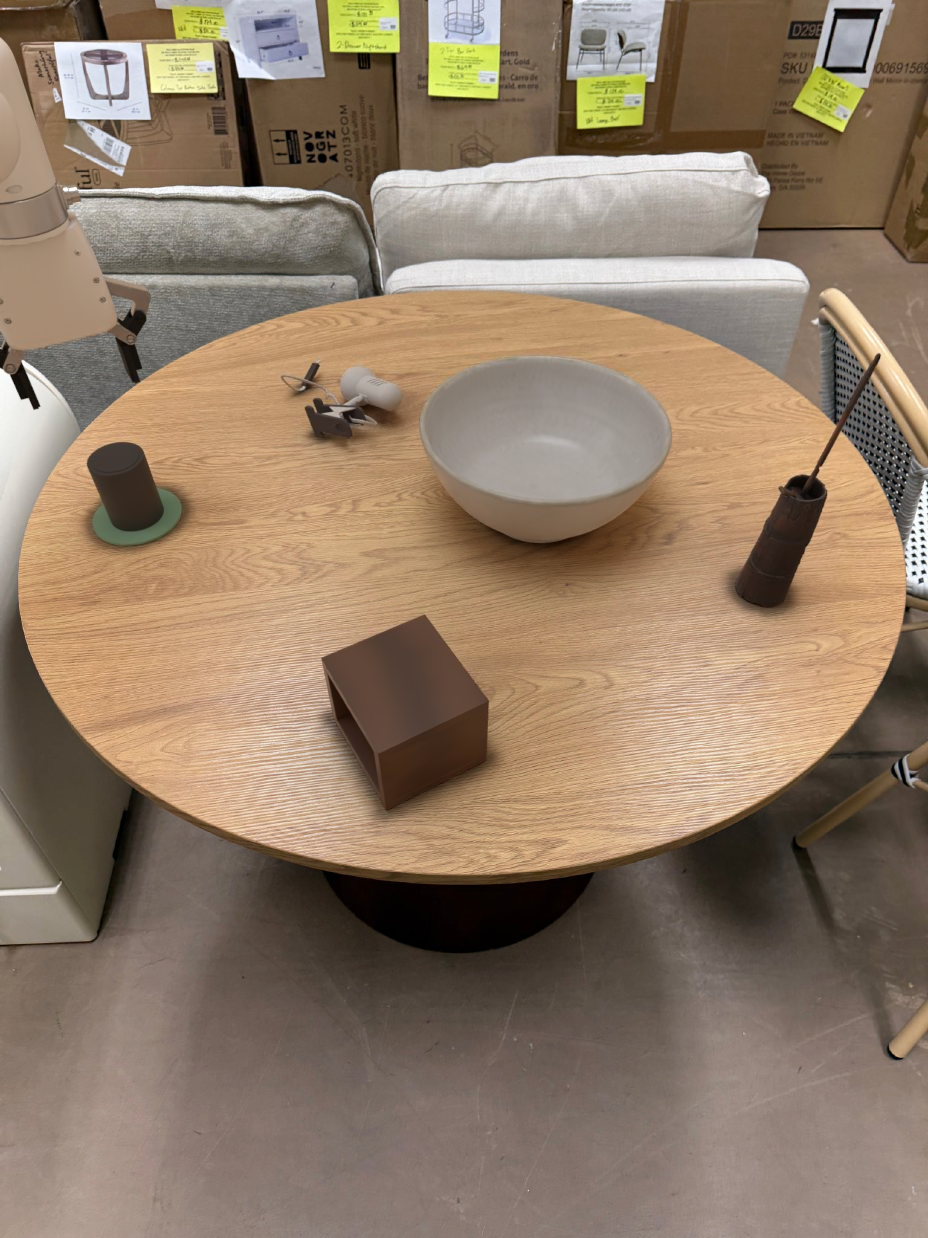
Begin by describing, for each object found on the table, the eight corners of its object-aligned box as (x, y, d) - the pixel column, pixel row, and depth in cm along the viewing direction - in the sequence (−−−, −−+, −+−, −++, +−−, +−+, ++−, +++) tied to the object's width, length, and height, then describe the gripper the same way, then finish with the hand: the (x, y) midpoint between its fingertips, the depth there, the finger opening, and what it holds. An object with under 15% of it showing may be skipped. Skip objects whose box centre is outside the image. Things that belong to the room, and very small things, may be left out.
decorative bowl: (482, 419, 107) (484, 334, 98) (680, 475, 100) (702, 388, 91) (381, 543, 91) (372, 455, 82) (607, 622, 83) (624, 534, 74)
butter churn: (716, 626, 83) (801, 385, 62) (700, 561, 89) (772, 323, 69) (806, 628, 83) (922, 387, 62) (784, 562, 89) (881, 324, 68)
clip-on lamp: (273, 419, 112) (348, 453, 101) (255, 377, 108) (331, 407, 97) (339, 380, 117) (418, 407, 105) (325, 338, 113) (404, 362, 101)
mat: (105, 557, 90) (104, 555, 90) (84, 506, 96) (83, 504, 95) (193, 527, 93) (192, 525, 93) (168, 479, 99) (167, 477, 99)
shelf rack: (386, 811, 69) (378, 753, 62) (333, 718, 75) (320, 657, 69) (486, 760, 72) (489, 700, 66) (428, 676, 79) (424, 613, 72)
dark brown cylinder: (118, 538, 91) (93, 481, 85) (104, 508, 95) (80, 451, 89) (170, 520, 93) (150, 463, 87) (155, 491, 97) (135, 435, 91)
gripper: (110, 178, 74) (160, 351, 87) (-100, 214, 68) (-13, 394, 81) (131, 206, 70) (181, 384, 82) (-91, 247, 64) (-1, 432, 76)
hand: (85, 389), depth 81 cm, fingers open, 9 cm apart
